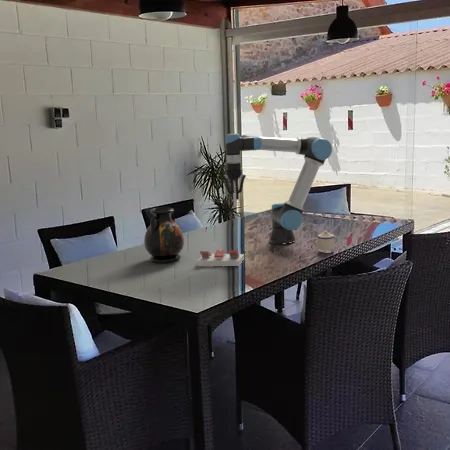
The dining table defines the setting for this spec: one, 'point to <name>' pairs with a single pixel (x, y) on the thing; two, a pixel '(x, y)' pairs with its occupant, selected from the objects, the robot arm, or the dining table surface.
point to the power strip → (220, 261)
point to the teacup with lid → (325, 241)
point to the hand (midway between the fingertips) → (235, 205)
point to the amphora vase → (163, 237)
